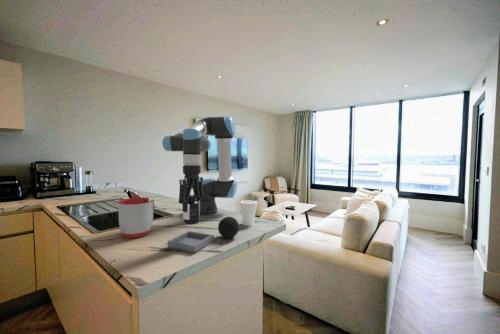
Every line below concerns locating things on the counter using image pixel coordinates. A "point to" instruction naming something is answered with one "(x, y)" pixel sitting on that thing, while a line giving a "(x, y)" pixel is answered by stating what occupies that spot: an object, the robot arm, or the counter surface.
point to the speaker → (228, 227)
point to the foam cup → (248, 212)
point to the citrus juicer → (135, 216)
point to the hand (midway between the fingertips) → (191, 216)
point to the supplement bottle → (193, 210)
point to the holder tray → (191, 241)
